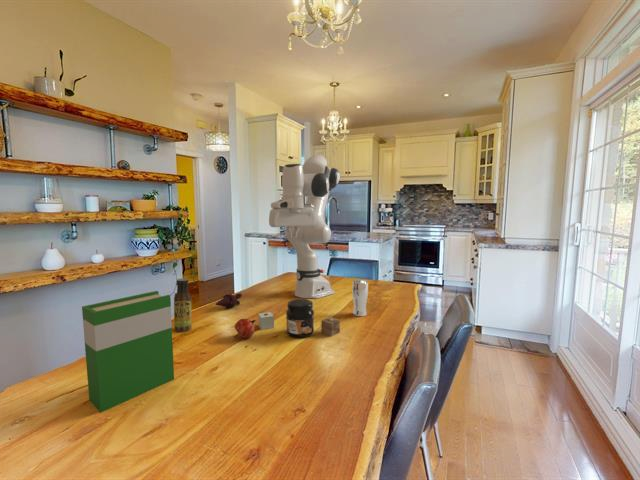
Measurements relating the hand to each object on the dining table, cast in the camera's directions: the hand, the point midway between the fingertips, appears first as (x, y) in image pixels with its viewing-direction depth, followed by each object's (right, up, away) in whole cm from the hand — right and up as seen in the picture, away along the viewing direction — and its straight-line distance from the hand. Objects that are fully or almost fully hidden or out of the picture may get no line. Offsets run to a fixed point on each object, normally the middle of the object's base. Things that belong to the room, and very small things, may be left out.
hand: (293, 237), depth 129 cm
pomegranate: (-17, -37, -15) cm, 43 cm away
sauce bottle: (-42, -36, -8) cm, 56 cm away
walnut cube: (+15, -37, -10) cm, 41 cm away
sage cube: (-10, -36, -4) cm, 38 cm away
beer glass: (+29, -35, +11) cm, 46 cm away
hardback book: (-38, -41, -47) cm, 73 cm away
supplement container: (+4, -37, -10) cm, 38 cm away
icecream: (-32, -33, +18) cm, 49 cm away
